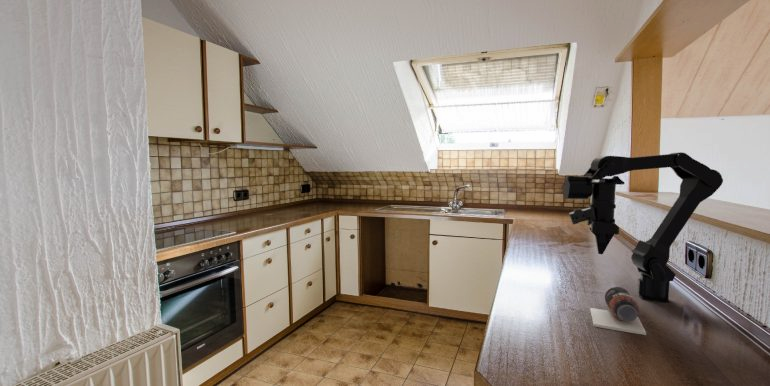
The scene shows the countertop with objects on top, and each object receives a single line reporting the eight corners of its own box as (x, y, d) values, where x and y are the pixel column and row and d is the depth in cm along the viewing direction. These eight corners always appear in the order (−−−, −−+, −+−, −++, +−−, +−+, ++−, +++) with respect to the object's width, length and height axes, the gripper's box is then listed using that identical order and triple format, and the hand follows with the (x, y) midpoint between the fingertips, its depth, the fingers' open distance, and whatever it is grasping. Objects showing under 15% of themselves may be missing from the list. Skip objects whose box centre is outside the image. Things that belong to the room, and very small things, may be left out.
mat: (636, 317, 91) (636, 314, 91) (645, 335, 81) (646, 332, 81) (590, 310, 95) (590, 307, 95) (593, 326, 85) (593, 323, 85)
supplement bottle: (623, 313, 94) (633, 331, 84) (599, 301, 96) (606, 317, 86) (636, 294, 93) (648, 310, 82) (611, 281, 95) (620, 296, 84)
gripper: (570, 196, 118) (568, 245, 119) (572, 201, 101) (570, 257, 102) (611, 198, 113) (608, 248, 114) (620, 203, 96) (617, 262, 97)
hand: (600, 253), depth 107 cm, fingers closed
